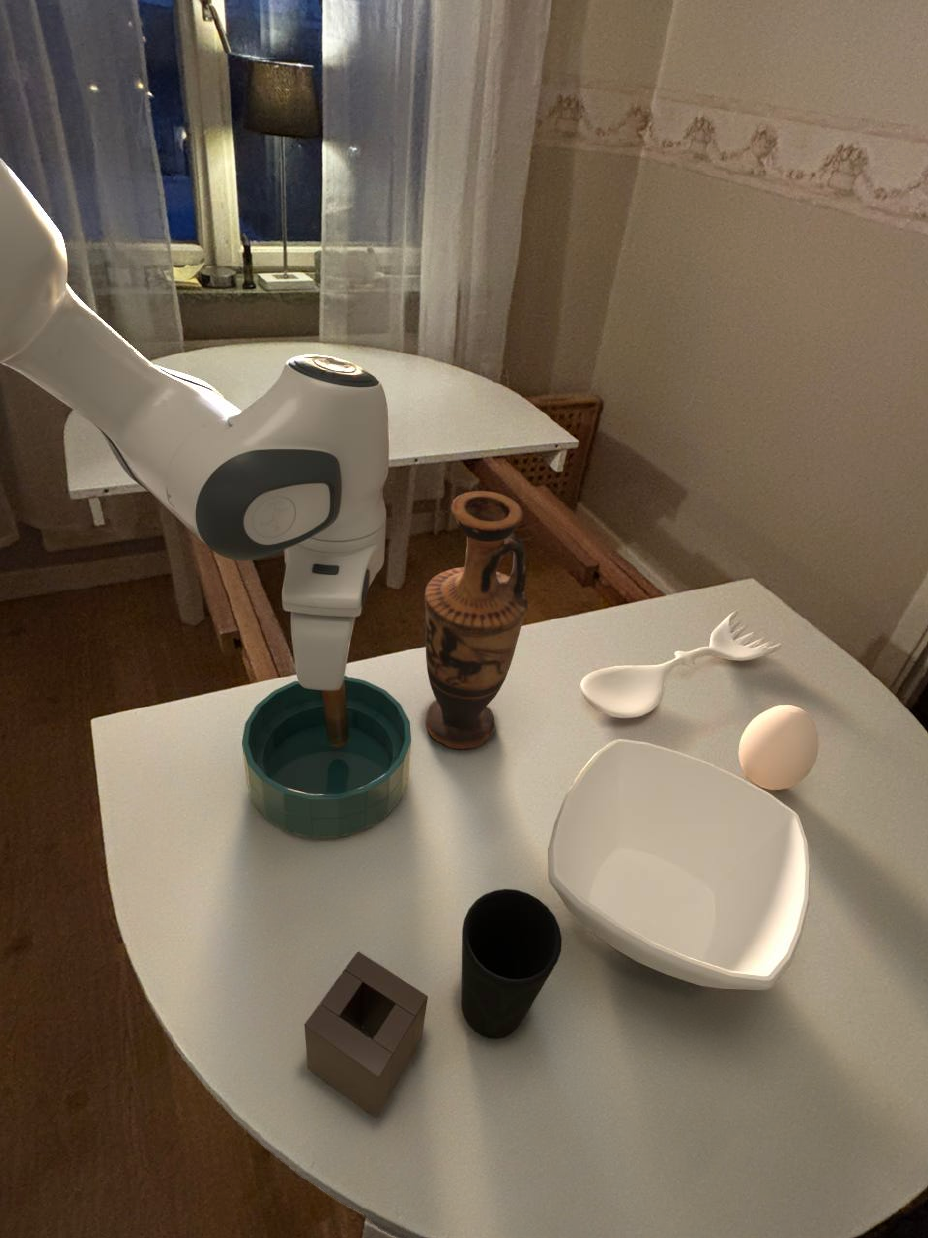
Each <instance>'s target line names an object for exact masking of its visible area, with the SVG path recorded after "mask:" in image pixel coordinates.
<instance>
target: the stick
mask: <svg viewBox="0 0 928 1238" xmlns="http://www.w3.org/2000/svg"><path fill="white" fill-rule="evenodd" d="M322 698H323V706H324V715H325V723H326V732H327V739H328V742H329V743H330V744H331V745H332V746H334V747H342V746H344V745H345V744H346V743H347V742H348V740H349V728H348V717H347V705H346V694H345V683H344V680H343V684H342V686H341V688H340V689H339V690H336V691H327V690H322Z"/></svg>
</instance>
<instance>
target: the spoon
mask: <svg viewBox="0 0 928 1238" xmlns="http://www.w3.org/2000/svg"><path fill="white" fill-rule="evenodd" d="M738 614H739V611H738V610H736V611H733V612H732V613H730V614H729V615H728V616H726V617H725V618H724V619H723V620H722V621H721V622H720V624H718V625H717V626H716V627H715V628H714V629H713V631H711V634H710V640H709V646H702V647H698V648H695V649H693V650H689V651H682V650H676V651H675V652H674V657H675V658H673V659H671V660H669V661H666V662H664V663H661V664H653V665H614V666H609V667H605V668H604V667H603V668H600V669H597V670H594V671H591V672H589V673H587V674H586V675H585V676H584V677H583V678H582V679H581V682H580V684H579V685H580V686H579V687H580V692H581V695H582V696H583V698H584V699H585V701H586V702H587V703H588V704H589V706H591V707H592V708H593V709H594V710H596V711H598V712H600V713H602V714H604V715H607V716H610V717H614V718H621V719H629V718H630V719H632V718H638V717H641V716H644V715H646V714H648V713H650V712H651V711H653V710H654V709H655V708H656V707H658V705H659V704H660V702H661V700H662V698H663V696H664V692H665V688H666V683H667V679H668V675H669V674H670V673H671V671H672V670H673V669H674V668H676V667H678V666H679V667H680V666H685V667H688V668H690V667H694V665H695V664H696V663H695V661H696V660H697V659H699V658H701V657H704V656H707V657H708V656H711V657H716V658H720V659H724V660H728V661H738V662H744V661H751V660H754V659H758V658H761V657H763V656H767V655H770V654H774V653H775V652H777V651H778V650H780V649H781V648H782V646H783V644H782V643H778V644H776V645H773V646H771V644H773V640H770V641H768V642H765V643H764V644H763V642H764V641H765V639H766V637H761V638H759V639H757V640H755V641H753V642H751V643H749V642H750V641H751V640H752V639H753V638H754V637H755V636H756V634H757V632H756V631H752V632H749V633H746V634H744V635H743V636H739V635H740V634H742V633H743V632H744V631H745V630H746V629H747V628H748V626H749V624H744V625H743V626H741V627H739V628H737V627H738V626H739V625H740V624H741V623H742V622H743V620H744V619H743V618H739V619H737V620H735V621H734V622H732V621H733V620H734V619H735V618H736V617H737V616H738ZM735 628H736V629H735ZM737 637H738V638H737ZM748 643H749V644H748ZM761 643H762V644H761ZM760 644H761V645H760Z"/></svg>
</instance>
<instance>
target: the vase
mask: <svg viewBox="0 0 928 1238" xmlns="http://www.w3.org/2000/svg"><path fill="white" fill-rule="evenodd" d="M450 506H451V507H450V510H451V515H452V517H453V519H454V520H453V521H454V522H455V523H456V526H457V528H458V530H459V531H460V532H461V534H462V535H464V536H465V537H466V549H465V559H464V565H463V566H462V567H453V568H451V569H447V570H444V571H442V572H440V573H438V574H436V575H435V576H434V577H432V578H431V580H430V581H428V583H427V585H426V587H425V590H424V604H425V662H426V671H427V675H428V681H429V684H430V687H431V690H432V694H433V695H434V697H435V700H434V701H433V702H432V703H431V704H430V705H429V707H428V709H427V711H426V713H425V717H424V718H425V719H424V722H425V727H426V730H427V732H428V733H429V735H430V736H431V737H432V738H433V740H435V741H437V742H438V743H441V744H443V745H444V746H445V747H448V748H449V749H451V748H452V749H456V750H470V749H475V748H478V747H480V746H482V745H483V744H485V743H486V742H487V741H488V740H489V739H490V738H491V737H492V736H493V734H494V730H495V725H496V724H495V716H494V713H493V711H492V709H491V708H490V707H488V706H489V704H491V702H492V701H493V700H494V699H495V698H496V696H497V694H498V693H499V692H500V690H501V688H502V686H503V684H504V682H505V680H506V678H507V676H508V673H509V671H510V668H511V665H512V663H513V659H514V656H515V653H516V648H517V644H518V641H519V637H520V633H521V630H522V625H523V622H524V619H525V617H526V612H527V610H528V607H529V606H528V604H529V603H528V600H529V599H528V596H527V594H526V590H525V588H526V579H527V557H526V552H525V548H524V544H523V542H522V539H521V537H519V535H517V533H514V531H515V530H516V529H517V528H518V526H519V525H520V523H521V521H522V520H523V518H524V512H523V509H522V507H521V505H520V504H519V503H517V502H516V501H515V500H513V498H511V497H509V496H506V495H504V494H502V493H499V492H494V491H485V490H475V491H468V492H465V493H462V494H459V495H458V496H457V497H456V498H455V499H453V500H452V504H451V505H450ZM509 552H513V557H512V559H513V560H512V569H511V573H510V575H509V576H508V575H507V574H505V573H502V572H500V571H498V569H499V566H500V564H501V562H502V559H503V558H504V557H505V556H506V555H507V554H508V553H509Z"/></svg>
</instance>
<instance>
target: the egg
mask: <svg viewBox="0 0 928 1238" xmlns="http://www.w3.org/2000/svg"><path fill="white" fill-rule="evenodd" d="M818 752H819V733H818V730H817V725H816V723H815V721H814V719H812V717H811V715H810V714H809V713H808V712H807V711H805V710H804V709H802V708H801V707H798V706H795V705H791V704H785V705H783V704H781V705H775V706H773V707H771V708H768V709H766V710H764V711H762V712H761V713H759V714H758V715H757V716H756V717H754V718H753V719H752V720H751V721H750V723H749V724H748V725H747V726H746V727H745V729H744V731H743V733H742V735H741V738H740V740H739V746H738V759H739V764H740V767H741V768H742V771H743V773H744V774H745V776H746V777H747V778H748V779H749V780H750V781H751V782H752V784H753V785H755V786H757V787H759V788H761V789H765V790H770V791H781V790H786V789H788V788H792V787H794V786H796V785H798V784H799V783H800V782H802V781H803V780H804V779H805V778H806V777H807V776H808V775H809V774H810V773H811V771H812V768H813V767H814V765H815V763H816V760H817V758H818V754H819V753H818Z"/></svg>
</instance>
